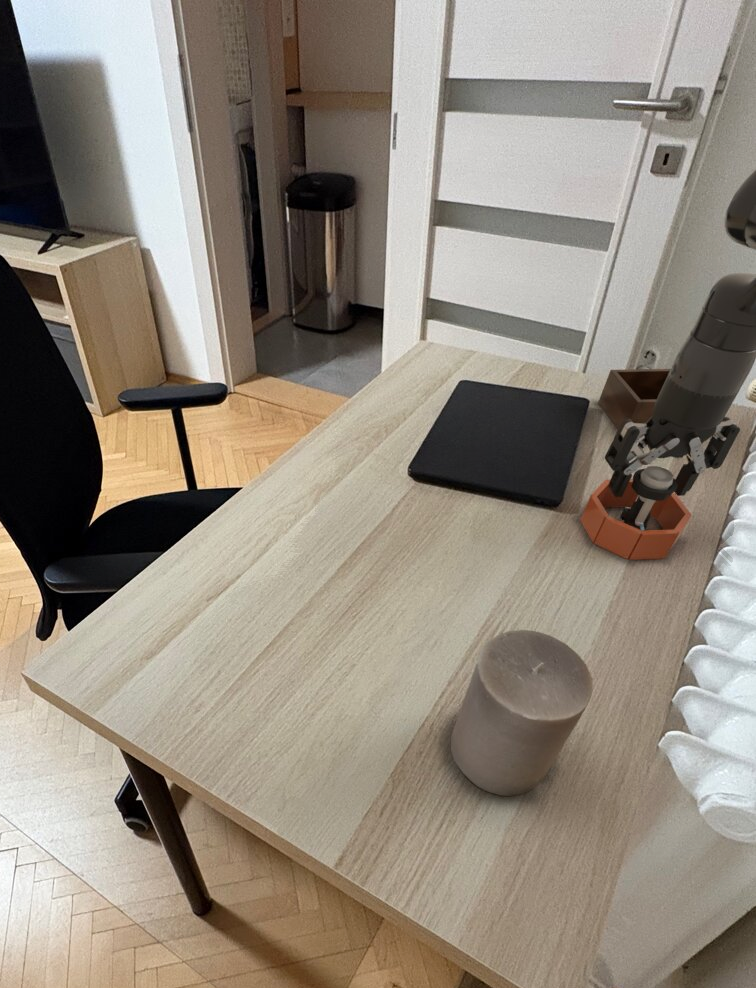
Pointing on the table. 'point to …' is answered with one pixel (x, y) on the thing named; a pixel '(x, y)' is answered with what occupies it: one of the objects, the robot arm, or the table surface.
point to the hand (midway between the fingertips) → (646, 492)
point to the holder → (632, 394)
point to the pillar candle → (519, 711)
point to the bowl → (629, 538)
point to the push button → (648, 494)
